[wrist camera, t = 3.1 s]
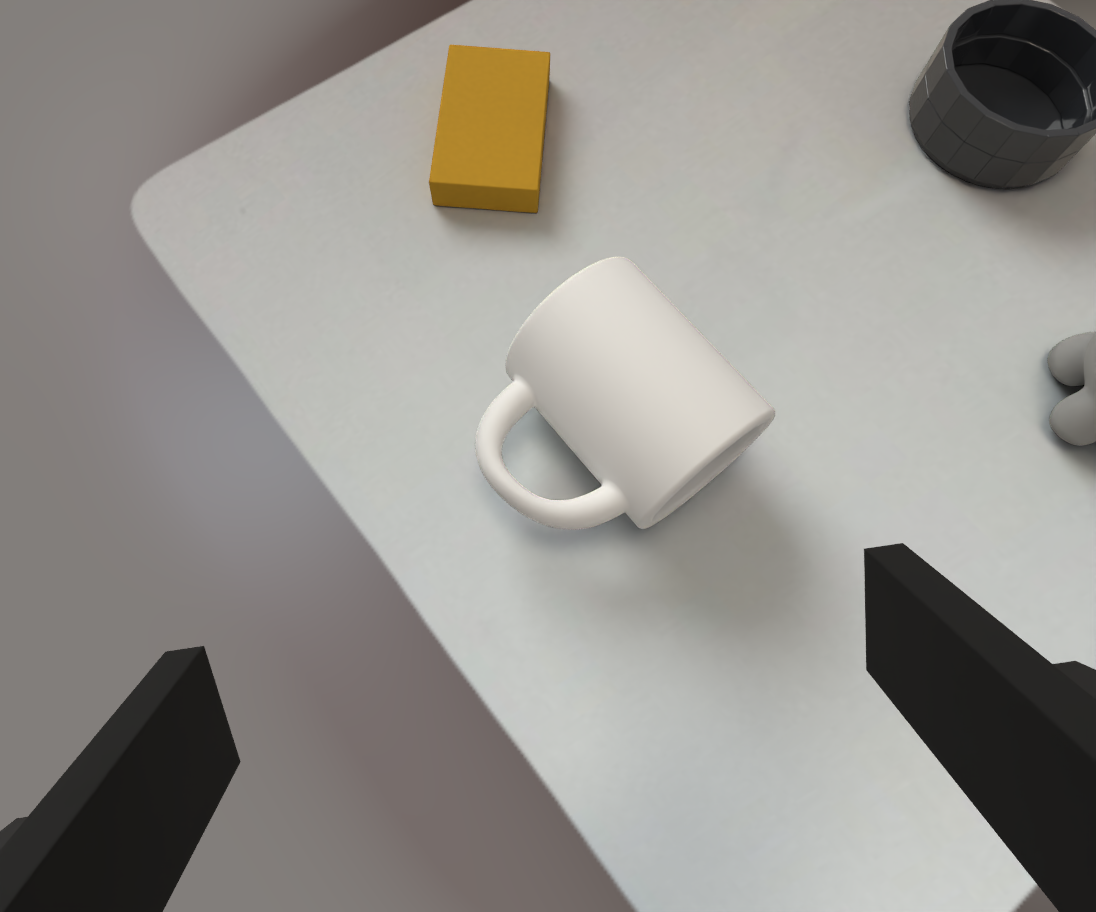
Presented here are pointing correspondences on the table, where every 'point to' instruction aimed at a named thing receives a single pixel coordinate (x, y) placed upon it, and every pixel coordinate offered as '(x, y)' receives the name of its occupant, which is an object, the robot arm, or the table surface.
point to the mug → (621, 400)
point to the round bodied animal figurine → (1075, 364)
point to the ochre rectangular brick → (491, 129)
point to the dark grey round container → (1007, 93)
